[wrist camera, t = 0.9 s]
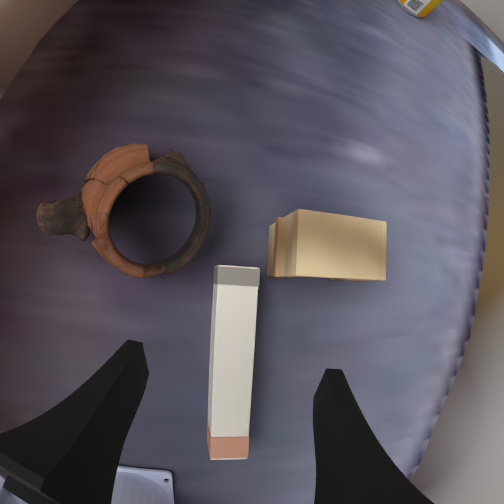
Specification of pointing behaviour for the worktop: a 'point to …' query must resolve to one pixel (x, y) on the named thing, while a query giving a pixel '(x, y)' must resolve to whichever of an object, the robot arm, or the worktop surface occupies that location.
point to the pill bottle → (419, 6)
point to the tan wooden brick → (327, 247)
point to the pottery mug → (104, 195)
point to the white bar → (231, 360)
